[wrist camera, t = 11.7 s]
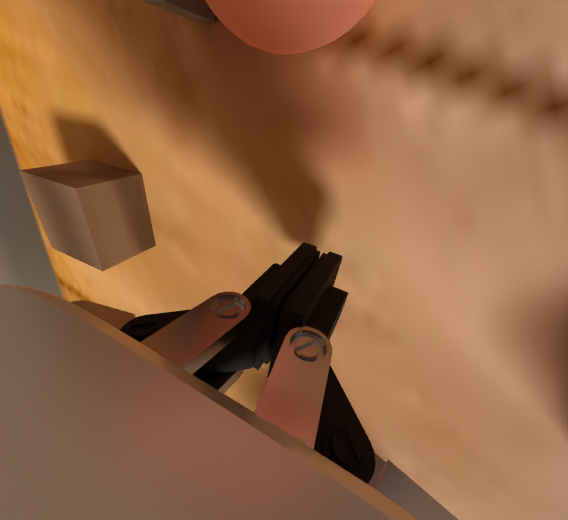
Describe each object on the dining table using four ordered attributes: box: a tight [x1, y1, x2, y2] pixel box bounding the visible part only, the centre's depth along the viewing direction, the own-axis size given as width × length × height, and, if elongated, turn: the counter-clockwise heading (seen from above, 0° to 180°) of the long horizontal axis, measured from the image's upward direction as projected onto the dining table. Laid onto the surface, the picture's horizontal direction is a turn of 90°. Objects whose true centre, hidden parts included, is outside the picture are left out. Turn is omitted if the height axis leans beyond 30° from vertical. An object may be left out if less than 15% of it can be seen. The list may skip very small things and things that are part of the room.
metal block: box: [19, 160, 156, 271], centre depth 17 cm, size 5×5×4 cm
